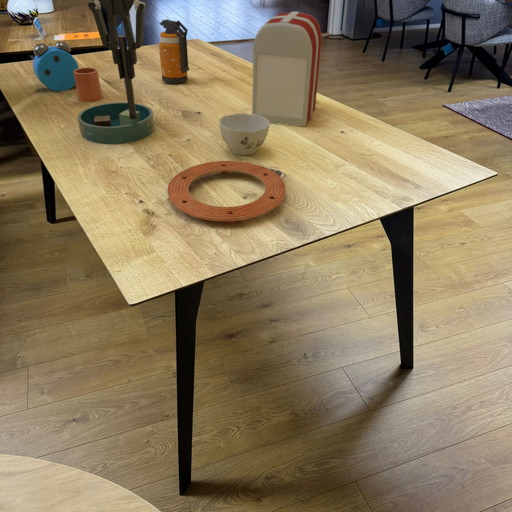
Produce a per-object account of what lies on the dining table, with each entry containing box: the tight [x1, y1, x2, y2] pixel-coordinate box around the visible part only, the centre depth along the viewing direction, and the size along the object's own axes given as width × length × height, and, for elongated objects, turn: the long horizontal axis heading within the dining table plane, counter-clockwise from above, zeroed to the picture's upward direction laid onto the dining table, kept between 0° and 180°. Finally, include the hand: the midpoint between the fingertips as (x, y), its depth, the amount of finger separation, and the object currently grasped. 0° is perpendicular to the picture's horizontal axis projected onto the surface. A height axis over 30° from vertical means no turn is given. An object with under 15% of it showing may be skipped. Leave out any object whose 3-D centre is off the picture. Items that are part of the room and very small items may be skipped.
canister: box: [158, 19, 190, 85], centre depth 164 cm, size 9×11×20 cm
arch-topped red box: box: [251, 10, 322, 127], centre depth 137 cm, size 16×18×27 cm
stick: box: [118, 35, 137, 119], centre depth 120 cm, size 2×2×20 cm
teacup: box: [218, 112, 271, 156], centre depth 121 cm, size 15×12×8 cm
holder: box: [73, 67, 103, 103], centre depth 150 cm, size 7×7×9 cm
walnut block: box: [94, 116, 112, 127], centre depth 128 cm, size 4×4×4 cm
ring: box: [166, 160, 287, 224], centre depth 103 cm, size 25×25×2 cm
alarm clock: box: [32, 40, 80, 92], centre depth 156 cm, size 13×6×15 cm, turn 125°
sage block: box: [119, 110, 141, 126], centre depth 132 cm, size 4×4×4 cm
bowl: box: [76, 101, 155, 145], centre depth 130 cm, size 20×20×5 cm
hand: (127, 77), depth 120 cm, fingers closed on stick, 2 cm apart
